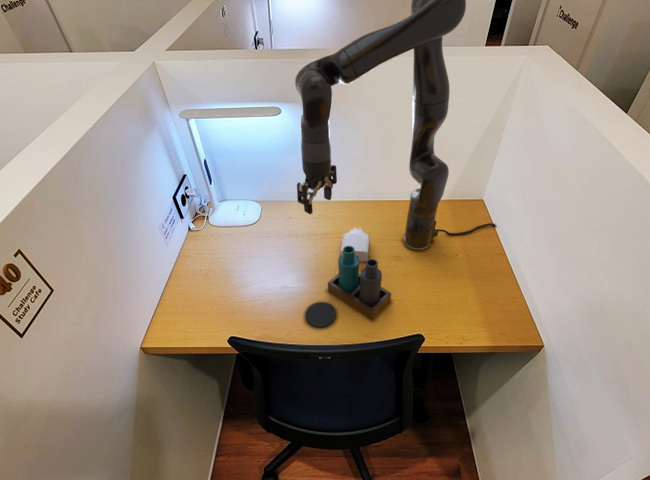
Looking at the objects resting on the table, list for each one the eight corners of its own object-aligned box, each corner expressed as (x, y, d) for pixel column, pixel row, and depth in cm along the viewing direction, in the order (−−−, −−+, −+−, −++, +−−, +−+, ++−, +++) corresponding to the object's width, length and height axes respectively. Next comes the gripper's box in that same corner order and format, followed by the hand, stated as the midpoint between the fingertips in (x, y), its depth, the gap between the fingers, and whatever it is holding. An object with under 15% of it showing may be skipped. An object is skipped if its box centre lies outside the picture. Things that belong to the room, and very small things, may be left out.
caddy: (346, 274, 120) (346, 266, 118) (390, 301, 112) (391, 293, 110) (328, 291, 116) (327, 282, 113) (372, 320, 108) (372, 312, 105)
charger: (370, 233, 135) (367, 262, 124) (345, 231, 136) (340, 260, 125) (370, 223, 131) (368, 252, 121) (345, 221, 132) (340, 250, 122)
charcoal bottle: (372, 292, 115) (375, 252, 102) (382, 305, 111) (387, 265, 99) (355, 300, 113) (356, 260, 100) (366, 313, 109) (368, 273, 97)
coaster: (327, 299, 113) (326, 297, 113) (341, 319, 108) (341, 318, 107) (300, 310, 110) (300, 309, 110) (313, 332, 105) (313, 331, 104)
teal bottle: (351, 280, 119) (352, 239, 106) (361, 292, 115) (363, 252, 103) (335, 287, 117) (334, 247, 104) (345, 299, 113) (344, 259, 101)
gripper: (309, 170, 88) (312, 223, 100) (344, 147, 96) (343, 198, 108) (286, 160, 92) (292, 212, 103) (322, 139, 100) (323, 190, 111)
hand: (318, 205), depth 106 cm, fingers open, 8 cm apart
